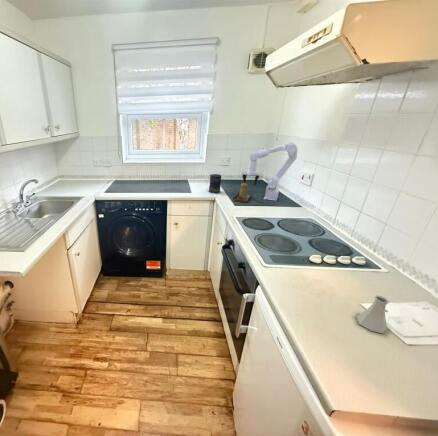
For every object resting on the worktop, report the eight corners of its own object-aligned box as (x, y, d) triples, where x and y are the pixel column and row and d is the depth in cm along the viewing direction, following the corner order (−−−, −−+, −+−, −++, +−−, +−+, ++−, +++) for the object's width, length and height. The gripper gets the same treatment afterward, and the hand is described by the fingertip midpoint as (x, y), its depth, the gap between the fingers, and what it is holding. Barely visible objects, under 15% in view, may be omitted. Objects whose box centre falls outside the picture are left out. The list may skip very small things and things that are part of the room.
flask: (386, 337, 70) (399, 311, 66) (355, 325, 75) (365, 300, 71) (386, 322, 75) (398, 298, 71) (356, 311, 80) (366, 287, 76)
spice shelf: (250, 196, 197) (251, 192, 196) (246, 202, 183) (247, 198, 182) (238, 195, 202) (238, 190, 201) (233, 201, 188) (233, 196, 187)
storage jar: (211, 189, 220) (212, 173, 214) (221, 191, 214) (223, 174, 209) (207, 192, 212) (208, 175, 207) (217, 193, 207) (219, 177, 201)
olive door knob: (238, 197, 191) (240, 183, 187) (238, 195, 196) (240, 182, 192) (246, 197, 189) (248, 184, 185) (246, 195, 194) (248, 182, 190)
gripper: (241, 168, 189) (239, 184, 194) (261, 169, 181) (258, 186, 187) (243, 166, 194) (241, 182, 199) (262, 167, 187) (259, 184, 192)
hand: (249, 184), depth 193 cm, fingers open, 7 cm apart
